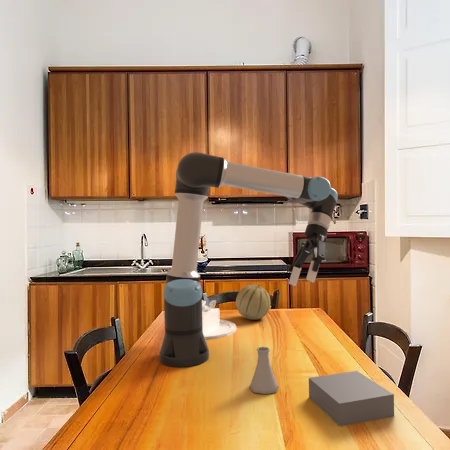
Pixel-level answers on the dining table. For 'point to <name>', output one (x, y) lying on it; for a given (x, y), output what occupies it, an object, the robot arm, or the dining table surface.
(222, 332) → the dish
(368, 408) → the riser block
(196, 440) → the dining table surface
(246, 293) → the cantaloupe
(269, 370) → the flask
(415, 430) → the dining table surface
